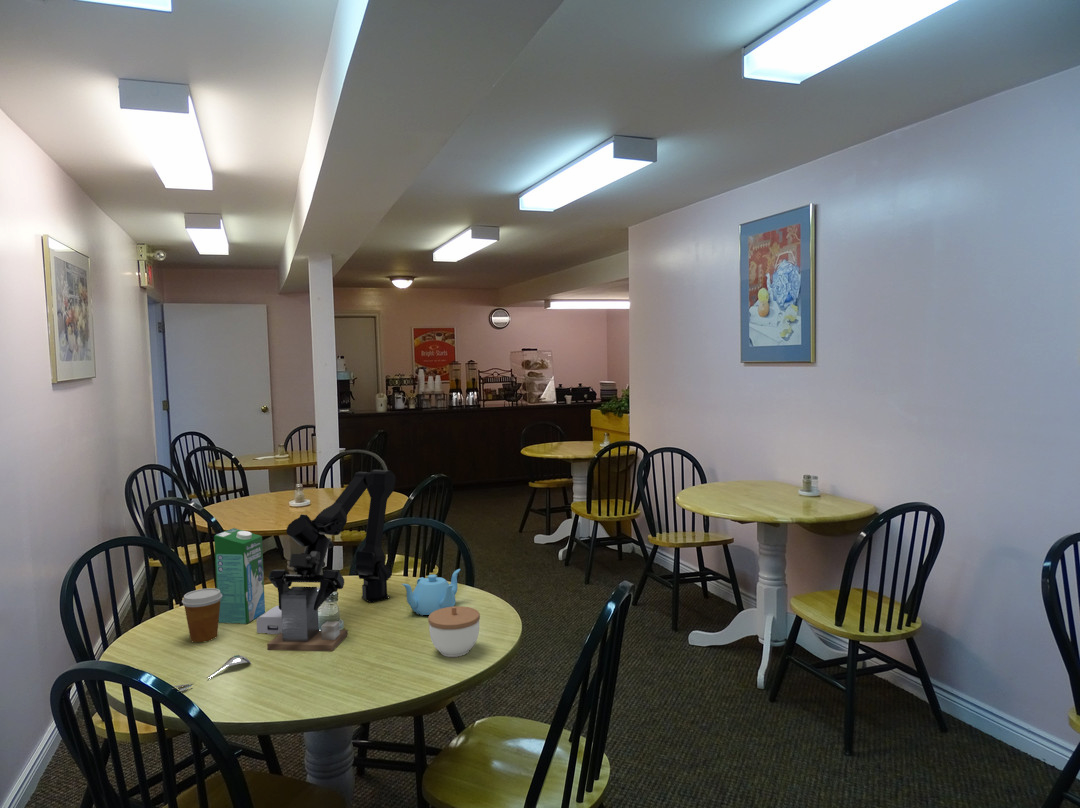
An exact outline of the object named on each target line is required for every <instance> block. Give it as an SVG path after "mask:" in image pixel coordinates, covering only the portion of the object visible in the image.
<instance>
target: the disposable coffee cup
mask: <svg viewBox="0 0 1080 808" xmlns="http://www.w3.org/2000/svg"><path fill="white" fill-rule="evenodd" d="M221 598H222V594H221V592H220V590H219V589H216V588H215V587H214V588H212V587H211V588H200V589H196V590H192V591H188V592H187V593H185V594H184V595H183V599H182V600H181V603H182V605H183V606H184V611H185V612H184V613H185V616H186V622H187V627H188V632H189V638H190V642H192V641H193V642H192V643H195V642H202V643H205V642H204V641H207V642H210V641H212V640H211V639H213V638H215V637H216V638H217V637H218V633H219V630H218V629H219V623H218V622H219V612H220V601H221ZM216 638H215V639H216ZM209 640H210V641H209ZM213 640H214V639H213Z"/></svg>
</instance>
